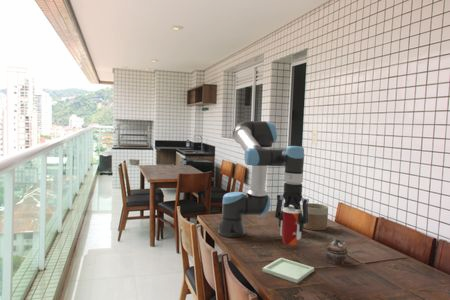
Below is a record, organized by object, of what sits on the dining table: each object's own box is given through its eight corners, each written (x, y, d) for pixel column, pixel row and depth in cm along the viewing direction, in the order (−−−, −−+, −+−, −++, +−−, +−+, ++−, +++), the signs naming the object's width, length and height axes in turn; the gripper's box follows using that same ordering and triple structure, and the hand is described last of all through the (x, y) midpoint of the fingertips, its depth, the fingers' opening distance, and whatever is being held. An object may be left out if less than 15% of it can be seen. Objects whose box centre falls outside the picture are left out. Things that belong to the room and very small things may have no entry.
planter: (329, 227, 217) (331, 205, 216) (322, 232, 203) (324, 210, 202) (305, 222, 225) (307, 202, 224) (297, 227, 212) (298, 206, 211)
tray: (262, 271, 143) (262, 267, 143) (280, 261, 156) (280, 257, 155) (297, 283, 133) (297, 279, 133) (313, 271, 146) (314, 267, 146)
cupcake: (327, 256, 165) (328, 235, 164) (348, 260, 160) (349, 239, 160) (323, 262, 156) (324, 241, 156) (345, 267, 152) (346, 245, 151)
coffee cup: (300, 247, 139) (302, 210, 138) (279, 244, 140) (281, 208, 139) (299, 240, 147) (301, 206, 146) (280, 238, 148) (282, 204, 148)
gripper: (268, 180, 145) (265, 233, 146) (312, 187, 133) (308, 244, 134) (276, 179, 151) (274, 230, 152) (319, 185, 139) (316, 240, 140)
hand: (290, 236), depth 143 cm, fingers closed on coffee cup, 7 cm apart
